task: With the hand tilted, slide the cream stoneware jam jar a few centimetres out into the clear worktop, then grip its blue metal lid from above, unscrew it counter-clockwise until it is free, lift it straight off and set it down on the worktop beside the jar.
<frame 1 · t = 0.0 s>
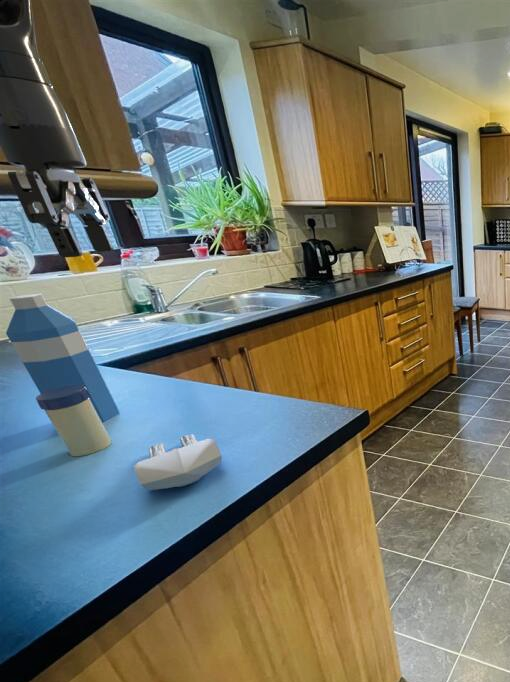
hand: (89, 253, 59), 32 cm above the counter, tool pointing down, fingers open, 8 cm apart
jar: (91, 447, 71), on the counter
lid: (62, 394, 67), point 11 cm above the counter, screwed on, not yet turned
white elongated knobbed piece: (183, 468, 65), on the counter
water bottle: (91, 418, 82), on the counter
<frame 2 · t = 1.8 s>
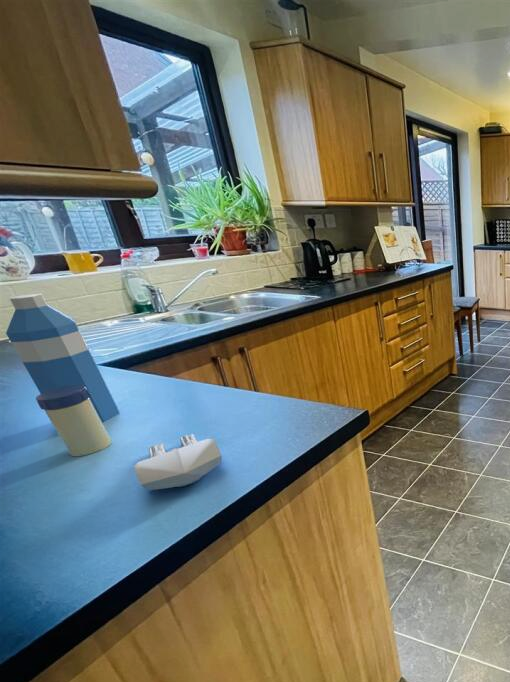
nothing on the counter moved.
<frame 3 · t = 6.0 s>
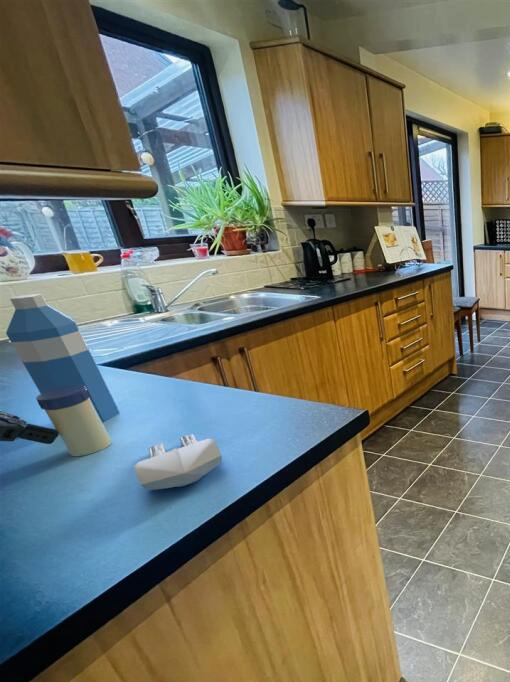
hand: (54, 437, 67), 4 cm above the counter, tool tilted 45°, fingers closed
jar: (91, 447, 71), on the counter, touching gripper
everything else where it was.
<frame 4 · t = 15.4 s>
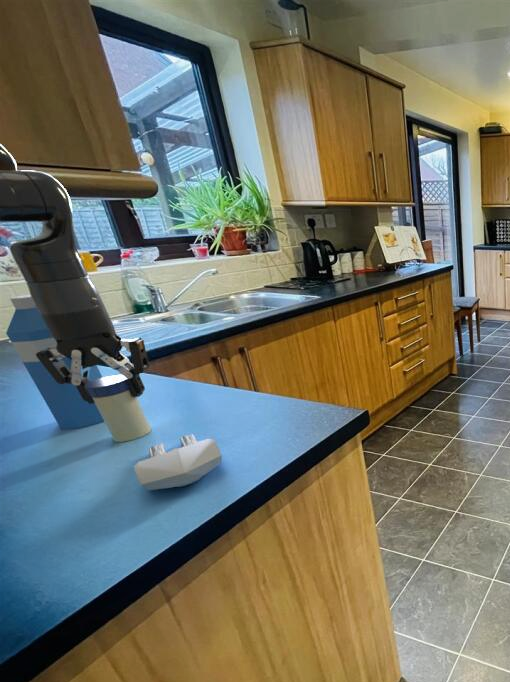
hand: (116, 398, 72), 7 cm above the counter, tool pointing down, fingers closed on lid, 5 cm apart
jar: (132, 434, 75), on the counter
lid: (107, 383, 71), point 11 cm above the counter, screwed on, not yet turned, touching gripper
everything else where it was.
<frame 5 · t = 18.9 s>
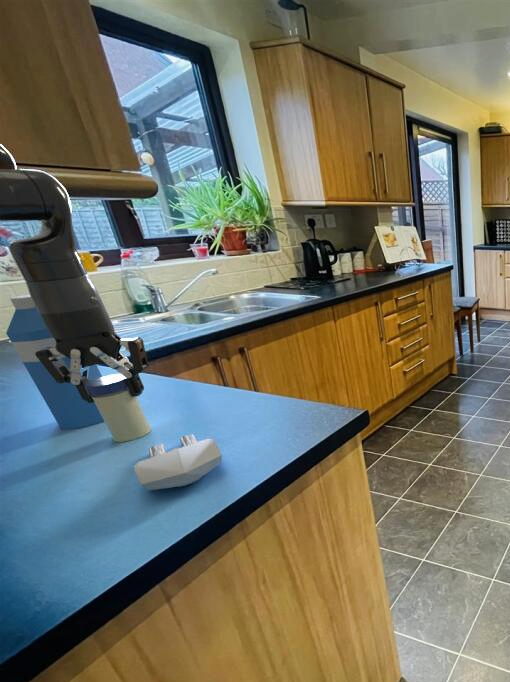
hand: (116, 397, 72), 8 cm above the counter, tool pointing down, fingers closed on lid, 5 cm apart
lid: (107, 382, 71), point 11 cm above the counter, turned 69° so far, risen 0.2 cm, still on its thread, touching gripper
everything else where it was.
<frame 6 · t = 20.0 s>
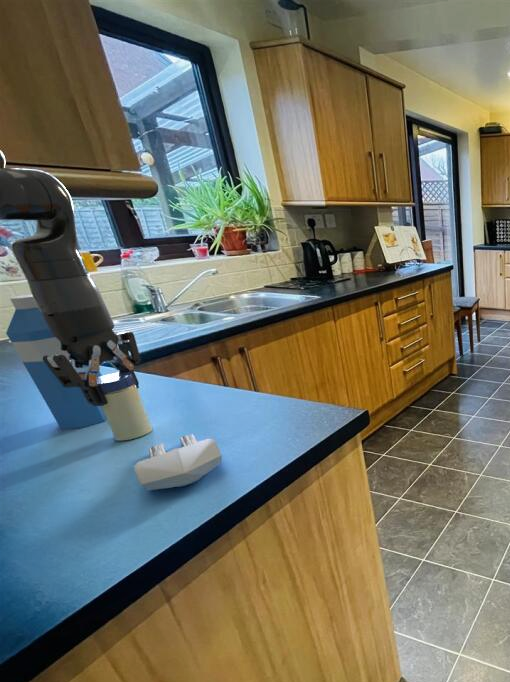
hand: (116, 396, 73), 8 cm above the counter, tool pointing down, fingers closed on lid, 5 cm apart
lid: (110, 380, 71), point 11 cm above the counter, off its thread, touching gripper
everything else where it was.
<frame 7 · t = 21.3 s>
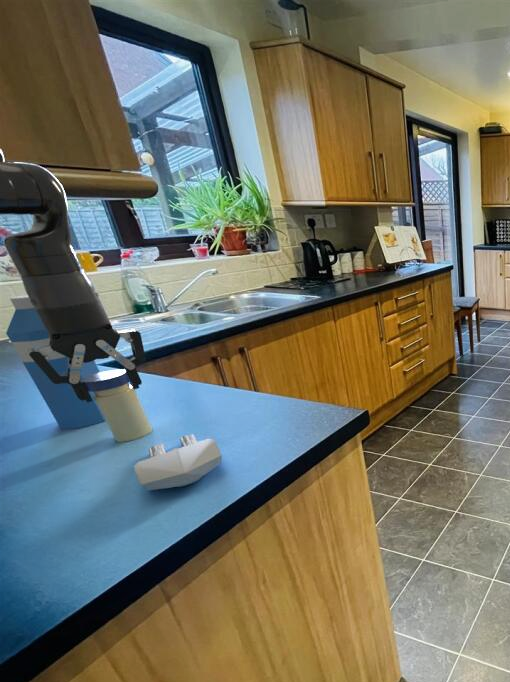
hand: (113, 394, 72), 8 cm above the counter, tool pointing down, fingers closed on lid, 5 cm apart
jar: (134, 434, 75), on the counter, touching gripper
lid: (105, 377, 70), point 12 cm above the counter, off its thread, touching gripper
everything else where it was.
when the fingers open (0 cm above the counter, at t = 31.3 s): lid drops 2 cm, point 1 cm above the counter.
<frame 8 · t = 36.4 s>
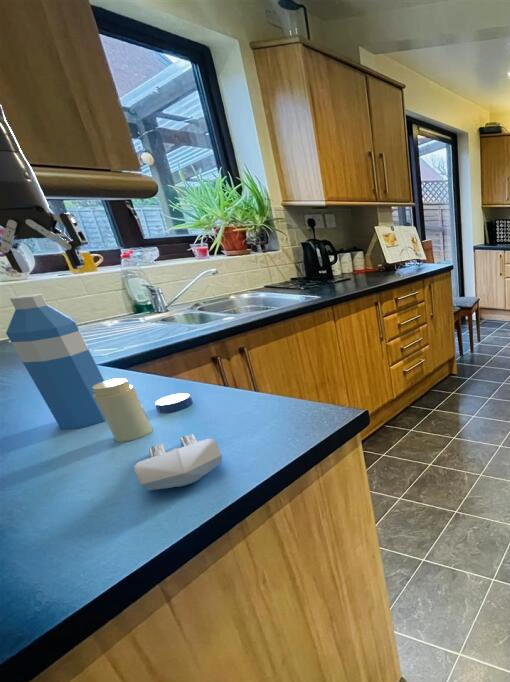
hand: (51, 270, 81), 28 cm above the counter, tool pointing down, fingers open, 8 cm apart
jar: (134, 434, 75), on the counter
lid: (173, 400, 85), point 1 cm above the counter, off its thread
everything else where it was.
at the end: jar moved 5.9 cm from its start; lid point 1.4 cm above the counter; the gripper is holding nothing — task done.
